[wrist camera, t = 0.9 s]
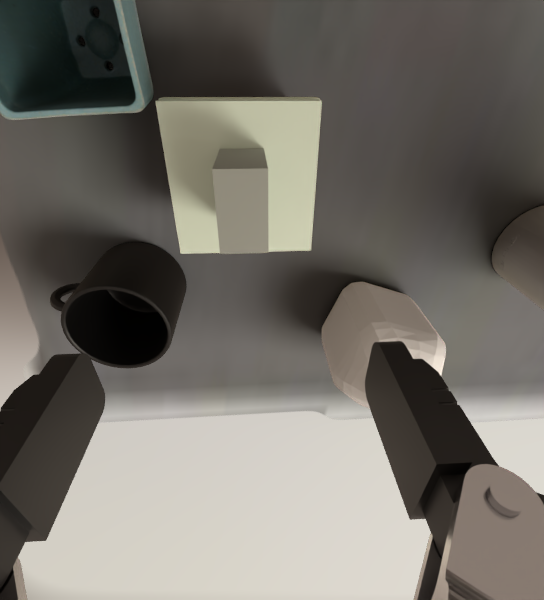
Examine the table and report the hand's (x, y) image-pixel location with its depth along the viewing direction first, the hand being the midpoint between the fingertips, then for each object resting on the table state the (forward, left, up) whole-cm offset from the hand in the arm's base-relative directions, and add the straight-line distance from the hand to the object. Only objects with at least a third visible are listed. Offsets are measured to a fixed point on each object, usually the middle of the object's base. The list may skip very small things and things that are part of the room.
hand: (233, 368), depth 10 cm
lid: (0, 0, -20) cm, 20 cm away
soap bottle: (-14, +18, -26) cm, 34 cm away
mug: (+13, +12, -26) cm, 31 cm away
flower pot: (+10, -9, -26) cm, 30 cm away
